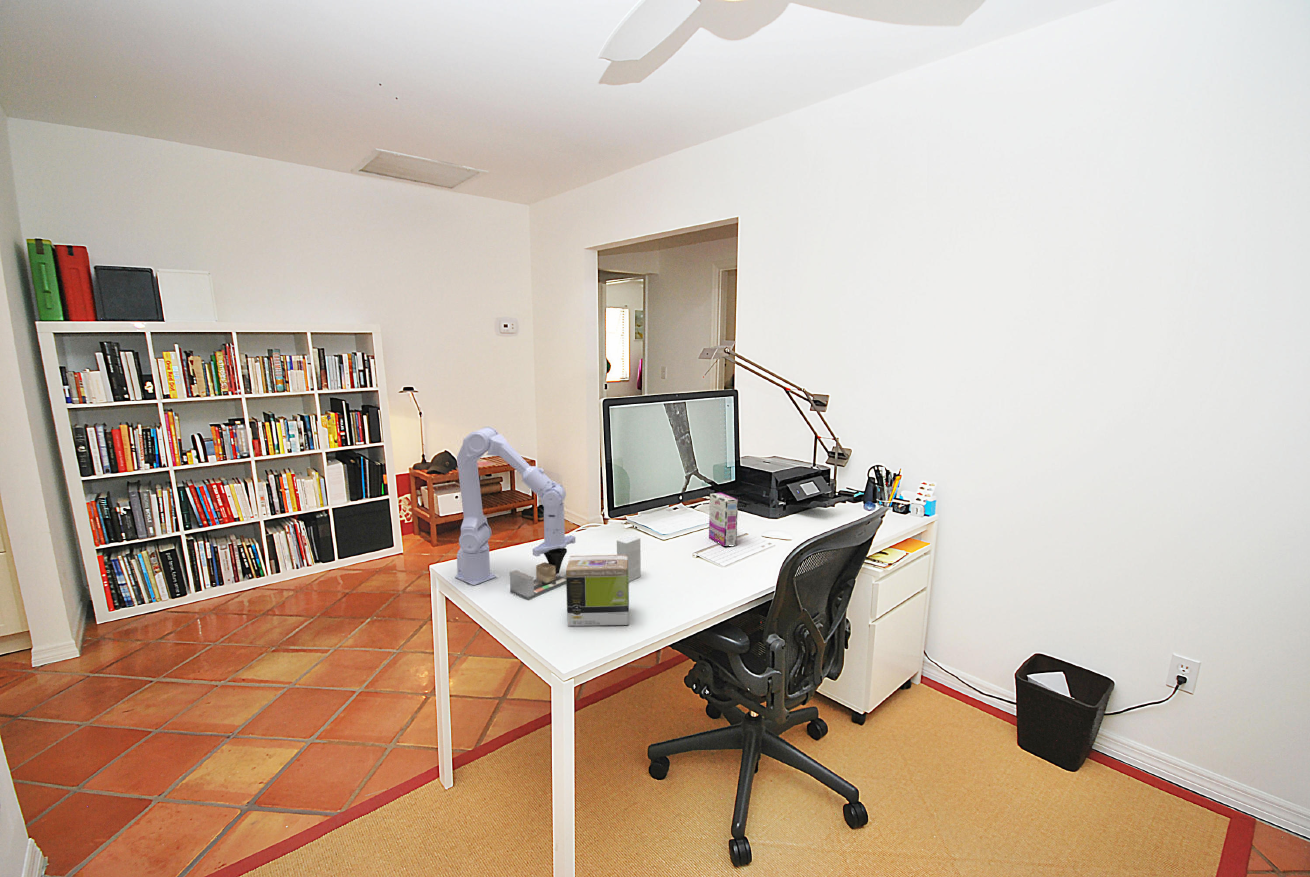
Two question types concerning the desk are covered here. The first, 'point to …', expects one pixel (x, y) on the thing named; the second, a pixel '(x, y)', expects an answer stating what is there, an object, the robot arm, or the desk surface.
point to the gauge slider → (546, 572)
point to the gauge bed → (531, 585)
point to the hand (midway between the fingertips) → (555, 572)
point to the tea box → (597, 590)
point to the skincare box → (631, 554)
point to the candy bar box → (723, 519)
